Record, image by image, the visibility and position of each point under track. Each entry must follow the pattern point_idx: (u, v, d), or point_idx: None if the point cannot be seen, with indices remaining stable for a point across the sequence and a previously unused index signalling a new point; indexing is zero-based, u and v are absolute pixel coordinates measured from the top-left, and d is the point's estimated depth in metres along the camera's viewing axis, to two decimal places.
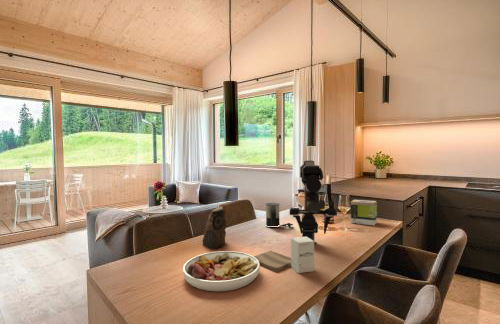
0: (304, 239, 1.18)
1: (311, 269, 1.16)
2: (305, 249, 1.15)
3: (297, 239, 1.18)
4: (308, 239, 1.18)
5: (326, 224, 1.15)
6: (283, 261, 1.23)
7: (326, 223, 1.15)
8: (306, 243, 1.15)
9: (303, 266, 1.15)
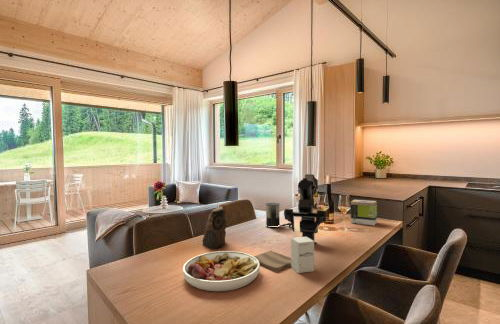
0: (304, 239, 1.18)
1: (311, 269, 1.16)
2: (305, 249, 1.15)
3: (297, 239, 1.18)
4: (308, 239, 1.18)
5: (316, 223, 1.26)
6: (283, 261, 1.23)
7: (316, 222, 1.26)
8: (306, 243, 1.15)
9: (303, 266, 1.15)
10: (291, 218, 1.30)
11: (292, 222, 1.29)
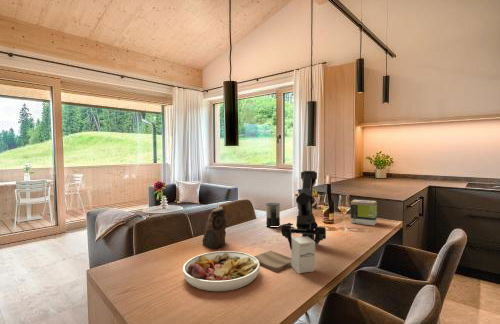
0: (305, 239, 1.17)
1: (311, 269, 1.16)
2: (306, 250, 1.14)
3: (298, 239, 1.17)
4: (310, 239, 1.17)
5: (315, 241, 1.19)
6: (283, 261, 1.23)
7: (315, 240, 1.19)
8: (307, 244, 1.14)
9: (304, 267, 1.15)
10: (288, 235, 1.22)
11: (289, 239, 1.21)
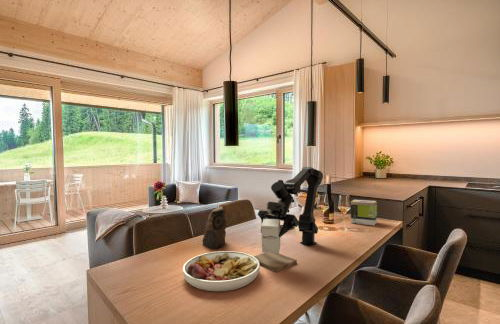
0: (271, 222, 1.21)
1: (275, 251, 1.21)
2: (268, 232, 1.19)
3: (265, 221, 1.22)
4: (276, 223, 1.20)
5: (282, 227, 1.21)
6: (283, 261, 1.23)
7: (283, 226, 1.21)
8: (269, 227, 1.18)
9: (267, 247, 1.21)
10: (262, 220, 1.28)
11: None
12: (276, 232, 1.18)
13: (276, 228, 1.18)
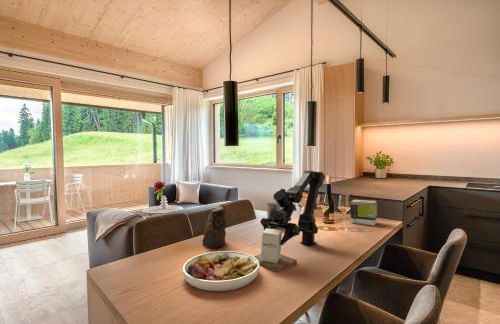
0: (273, 231, 1.24)
1: (274, 260, 1.21)
2: (269, 240, 1.21)
3: (267, 230, 1.26)
4: (277, 232, 1.23)
5: (284, 236, 1.23)
6: (283, 261, 1.23)
7: (284, 235, 1.24)
8: (270, 234, 1.21)
9: (266, 255, 1.22)
10: (265, 228, 1.31)
11: None
12: (276, 240, 1.21)
13: (277, 236, 1.20)
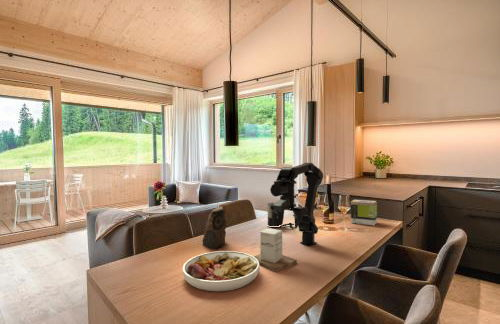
0: (271, 231, 1.25)
1: (272, 260, 1.22)
2: (266, 239, 1.23)
3: (267, 229, 1.27)
4: (275, 232, 1.24)
5: (295, 220, 1.32)
6: (283, 261, 1.23)
7: (295, 220, 1.32)
8: (267, 234, 1.23)
9: (264, 255, 1.24)
10: (277, 213, 1.40)
11: (278, 217, 1.40)
12: (272, 240, 1.21)
13: (272, 236, 1.21)
